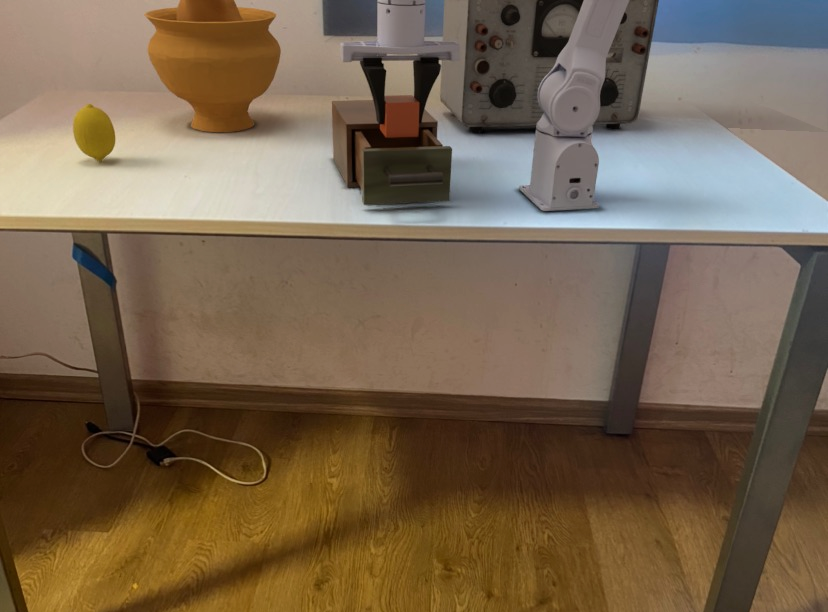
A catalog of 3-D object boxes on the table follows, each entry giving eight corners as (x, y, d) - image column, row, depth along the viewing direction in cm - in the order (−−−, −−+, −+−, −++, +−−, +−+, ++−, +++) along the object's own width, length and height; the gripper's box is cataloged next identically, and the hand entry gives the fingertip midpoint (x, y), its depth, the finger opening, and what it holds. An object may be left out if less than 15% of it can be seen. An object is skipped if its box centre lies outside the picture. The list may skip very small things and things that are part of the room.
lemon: (78, 167, 113) (66, 109, 108) (81, 157, 117) (69, 100, 113) (119, 166, 114) (109, 107, 110) (120, 155, 118) (110, 99, 114)
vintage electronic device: (463, 138, 132) (473, -34, 118) (439, 112, 147) (446, -43, 133) (640, 134, 138) (670, -31, 124) (600, 109, 152) (622, -40, 139)
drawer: (459, 213, 98) (463, 159, 95) (370, 218, 96) (370, 162, 92) (426, 171, 113) (428, 123, 109) (348, 175, 111) (347, 125, 107)
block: (411, 128, 104) (412, 94, 102) (418, 137, 101) (419, 102, 99) (379, 129, 103) (379, 95, 101) (386, 137, 100) (386, 102, 98)
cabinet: (435, 183, 111) (437, 121, 106) (347, 187, 109) (346, 124, 104) (413, 156, 122) (414, 99, 118) (333, 159, 120) (331, 100, 115)
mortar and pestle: (298, 135, 131) (287, -79, 114) (167, 144, 124) (135, -82, 107) (269, 107, 147) (256, -84, 130) (151, 114, 140) (122, -87, 124)
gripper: (451, -1, 99) (446, 113, 106) (335, -2, 96) (338, 115, 103) (467, 6, 93) (460, 126, 100) (344, 5, 90) (346, 129, 97)
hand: (399, 121), depth 101 cm, fingers closed on block, 4 cm apart
